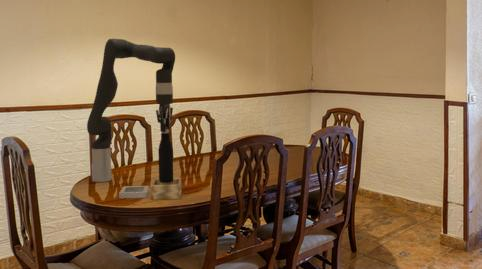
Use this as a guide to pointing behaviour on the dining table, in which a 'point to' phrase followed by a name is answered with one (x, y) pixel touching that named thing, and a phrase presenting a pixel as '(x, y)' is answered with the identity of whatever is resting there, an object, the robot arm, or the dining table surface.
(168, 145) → the wine bottle
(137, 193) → the grey square tray
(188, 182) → the dining table surface
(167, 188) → the crate
